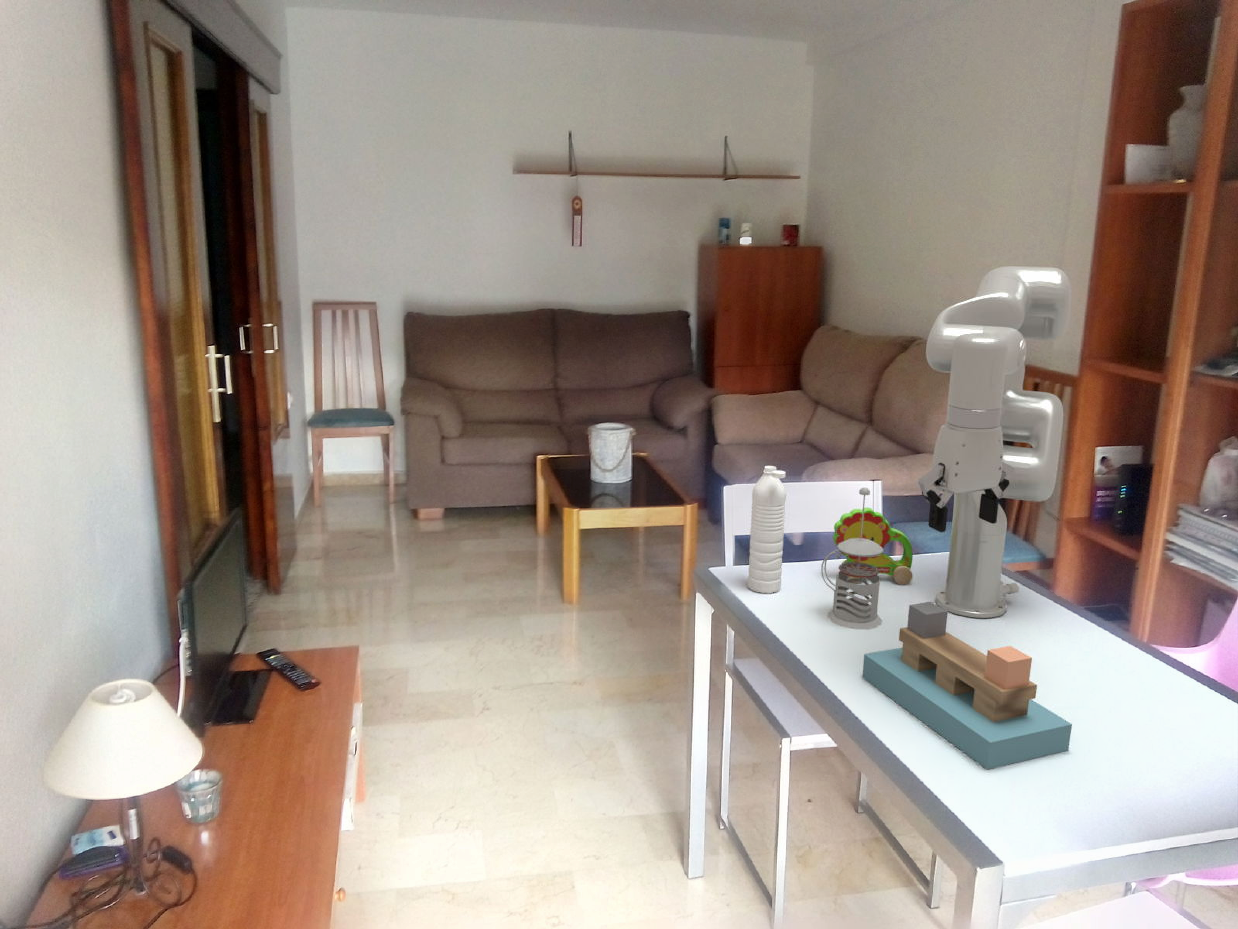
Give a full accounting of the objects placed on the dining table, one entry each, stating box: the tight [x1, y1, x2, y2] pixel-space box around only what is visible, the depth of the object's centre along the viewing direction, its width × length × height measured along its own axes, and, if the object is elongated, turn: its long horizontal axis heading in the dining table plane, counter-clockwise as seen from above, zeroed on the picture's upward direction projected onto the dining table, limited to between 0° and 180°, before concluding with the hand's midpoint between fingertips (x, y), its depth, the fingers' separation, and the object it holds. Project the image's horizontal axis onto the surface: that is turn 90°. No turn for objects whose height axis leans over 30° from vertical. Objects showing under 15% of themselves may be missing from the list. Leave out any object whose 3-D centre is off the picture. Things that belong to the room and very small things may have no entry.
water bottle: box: [747, 465, 787, 594], centre depth 181 cm, size 9×6×25 cm
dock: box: [861, 647, 1073, 770], centre depth 138 cm, size 14×28×4 cm, turn 21°
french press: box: [820, 487, 884, 630], centre depth 169 cm, size 10×12×25 cm
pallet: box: [898, 626, 1038, 722], centre depth 137 cm, size 6×22×5 cm, turn 21°
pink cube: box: [985, 645, 1033, 689], centre depth 128 cm, size 4×4×4 cm
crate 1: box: [906, 601, 949, 639], centre depth 143 cm, size 4×4×4 cm
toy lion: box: [832, 507, 914, 586], centre depth 189 cm, size 16×5×15 cm, turn 86°
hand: (962, 525), depth 143 cm, fingers open, 9 cm apart
